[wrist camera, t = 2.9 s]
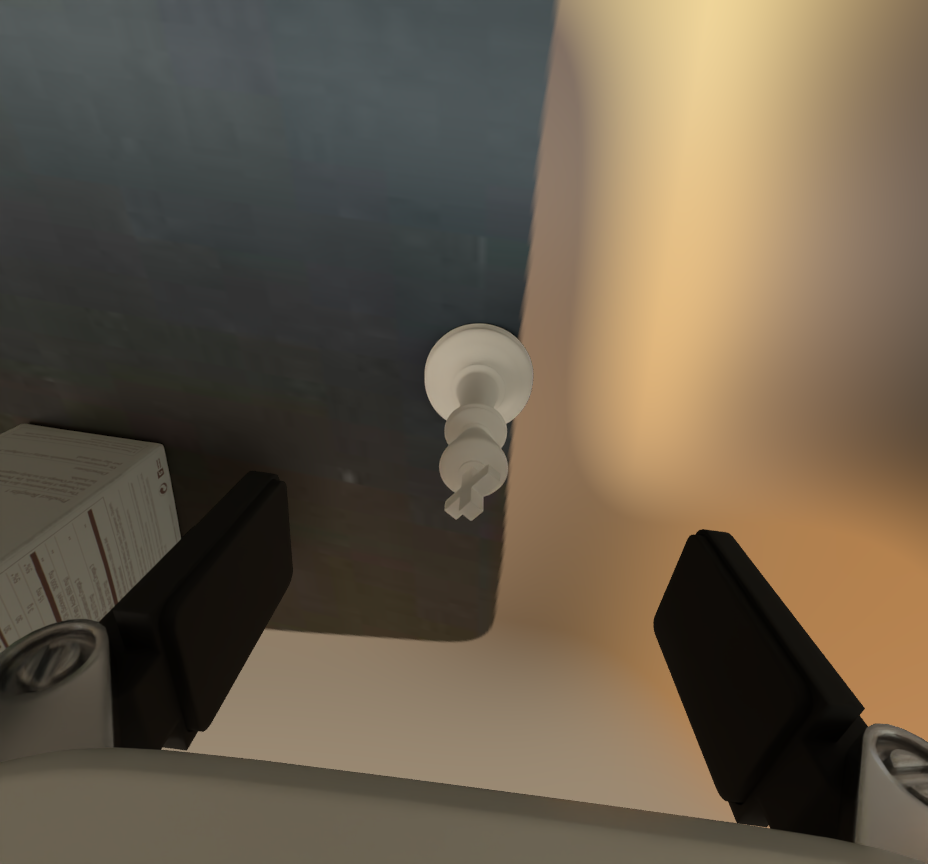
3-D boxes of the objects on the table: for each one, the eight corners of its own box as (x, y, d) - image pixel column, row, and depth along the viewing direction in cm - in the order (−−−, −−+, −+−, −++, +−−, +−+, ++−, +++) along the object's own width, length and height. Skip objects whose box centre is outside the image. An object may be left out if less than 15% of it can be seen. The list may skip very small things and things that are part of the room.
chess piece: (556, 376, 20) (612, 511, 11) (479, 445, 21) (474, 610, 12) (477, 298, 18) (466, 379, 9) (402, 378, 20) (334, 510, 11)
